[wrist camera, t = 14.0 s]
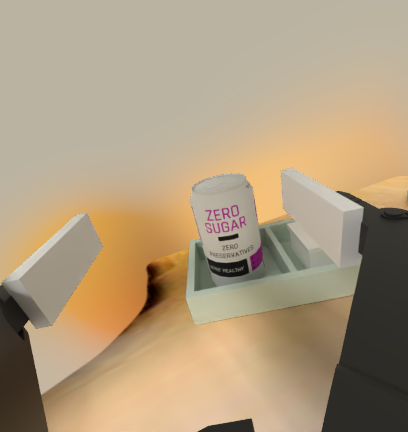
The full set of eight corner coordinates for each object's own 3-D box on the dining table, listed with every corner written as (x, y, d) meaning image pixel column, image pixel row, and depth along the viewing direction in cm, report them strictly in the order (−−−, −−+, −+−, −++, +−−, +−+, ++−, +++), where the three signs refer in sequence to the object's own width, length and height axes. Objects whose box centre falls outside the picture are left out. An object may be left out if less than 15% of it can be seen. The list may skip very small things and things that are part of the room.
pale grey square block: (309, 278, 31) (308, 249, 29) (289, 248, 38) (286, 223, 36) (367, 267, 30) (369, 236, 28) (335, 239, 37) (335, 213, 35)
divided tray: (194, 325, 29) (185, 299, 27) (195, 261, 42) (189, 240, 40) (412, 283, 27) (417, 253, 25) (343, 230, 40) (344, 207, 38)
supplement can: (244, 252, 39) (228, 169, 33) (277, 277, 32) (264, 176, 26) (203, 273, 37) (178, 187, 31) (229, 304, 30) (203, 200, 24)
